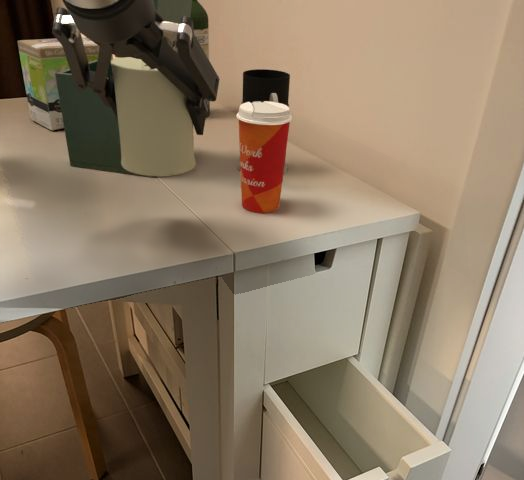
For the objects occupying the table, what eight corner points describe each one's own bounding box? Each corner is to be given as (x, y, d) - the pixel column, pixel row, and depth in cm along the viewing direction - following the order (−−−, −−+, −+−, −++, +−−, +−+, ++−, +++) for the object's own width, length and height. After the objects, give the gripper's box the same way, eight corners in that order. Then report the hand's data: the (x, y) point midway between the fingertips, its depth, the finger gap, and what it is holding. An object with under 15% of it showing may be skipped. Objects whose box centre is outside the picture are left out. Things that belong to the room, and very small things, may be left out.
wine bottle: (196, 121, 119) (191, -51, 101) (166, 115, 122) (157, -53, 104) (216, 113, 125) (215, -51, 107) (188, 108, 128) (182, -53, 110)
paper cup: (228, 198, 85) (228, 101, 76) (274, 193, 87) (280, 98, 79) (245, 218, 79) (248, 115, 71) (294, 213, 81) (302, 112, 73)
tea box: (52, 132, 108) (37, 47, 99) (30, 120, 114) (14, 39, 105) (120, 121, 117) (112, 41, 108) (96, 110, 122) (86, 34, 113)
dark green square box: (70, 166, 93) (54, 73, 85) (108, 143, 104) (98, 59, 96) (156, 178, 91) (149, 83, 82) (186, 153, 101) (182, 67, 93)
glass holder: (282, 159, 101) (288, 68, 92) (298, 188, 90) (306, 88, 81) (234, 160, 100) (235, 68, 91) (245, 189, 88) (247, 87, 79)
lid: (155, -56, 72) (162, -54, 72) (193, -55, 82) (198, -54, 82) (146, 78, 82) (151, 80, 82) (180, 63, 92) (185, 65, 92)
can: (115, 175, 66) (102, 63, 58) (127, 150, 73) (117, 48, 66) (193, 177, 66) (190, 67, 59) (197, 153, 73) (195, 52, 66)
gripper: (-30, 5, 48) (76, 140, 70) (215, 24, 46) (244, 157, 68) (-12, -71, 49) (87, 86, 71) (229, -56, 47) (253, 101, 69)
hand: (164, 121), depth 69 cm, fingers closed on can, 9 cm apart
